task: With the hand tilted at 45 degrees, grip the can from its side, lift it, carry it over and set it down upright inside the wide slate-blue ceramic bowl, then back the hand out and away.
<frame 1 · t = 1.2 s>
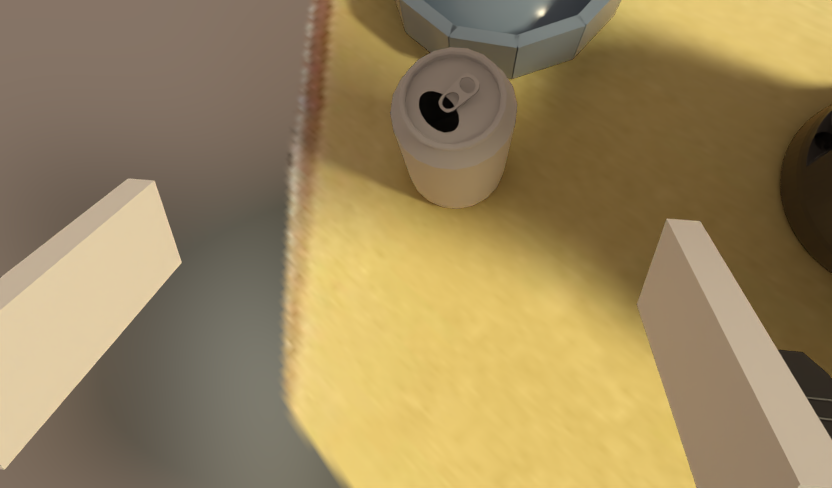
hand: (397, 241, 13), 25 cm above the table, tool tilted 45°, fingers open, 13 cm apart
can: (456, 166, 40), on the table
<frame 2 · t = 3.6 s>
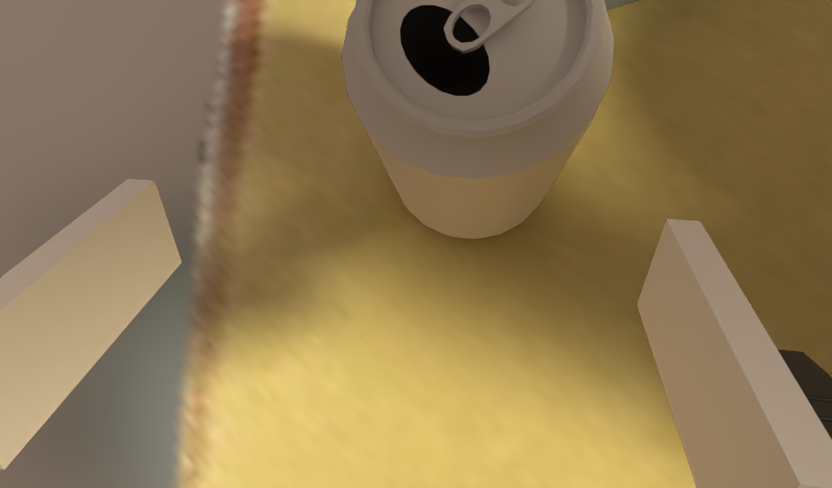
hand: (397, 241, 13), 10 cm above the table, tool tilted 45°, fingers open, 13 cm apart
can: (471, 166, 24), on the table
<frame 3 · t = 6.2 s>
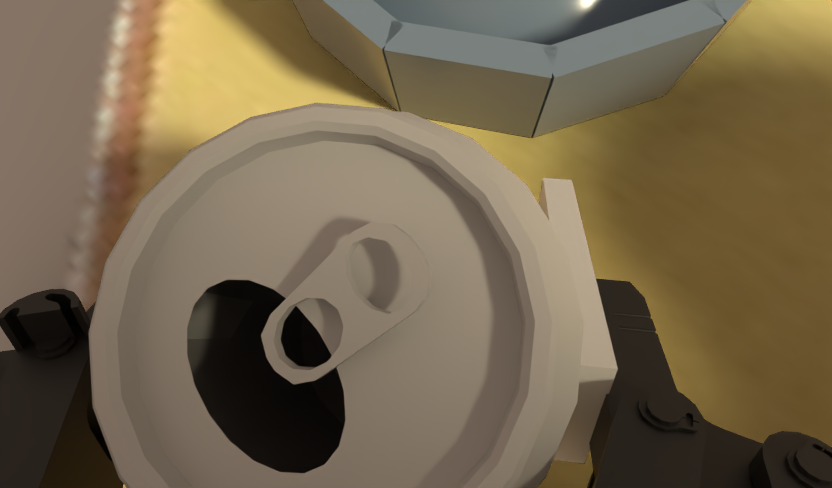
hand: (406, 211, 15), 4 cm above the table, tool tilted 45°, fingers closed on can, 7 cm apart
can: (410, 331, 18), on the table, touching gripper
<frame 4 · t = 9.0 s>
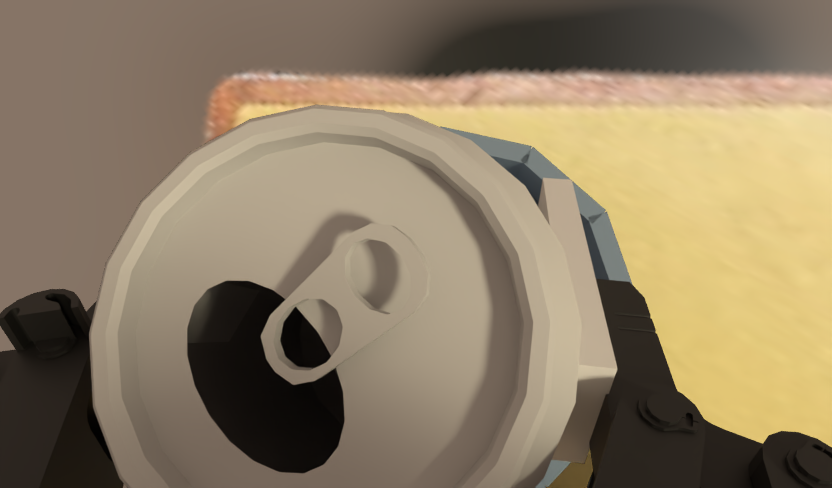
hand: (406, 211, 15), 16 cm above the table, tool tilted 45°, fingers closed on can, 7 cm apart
can: (409, 332, 18), point 12 cm above the table, touching gripper
bowl: (444, 311, 30), on the table
when the fingers open (6 cm above the table, at t = 12.0 s): can stays where it is, resting on bowl.
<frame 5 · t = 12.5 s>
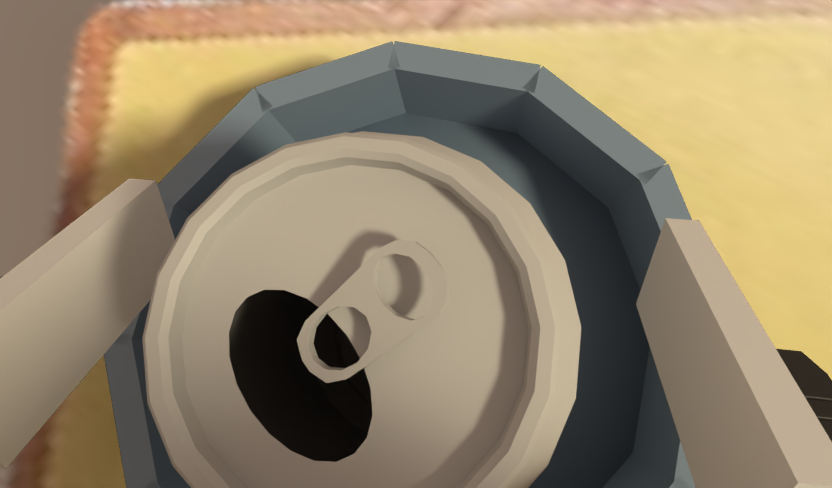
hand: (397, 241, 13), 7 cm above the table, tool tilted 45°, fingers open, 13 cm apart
can: (413, 333, 19), point 1 cm above the table, touching bowl
bowl: (414, 331, 20), on the table
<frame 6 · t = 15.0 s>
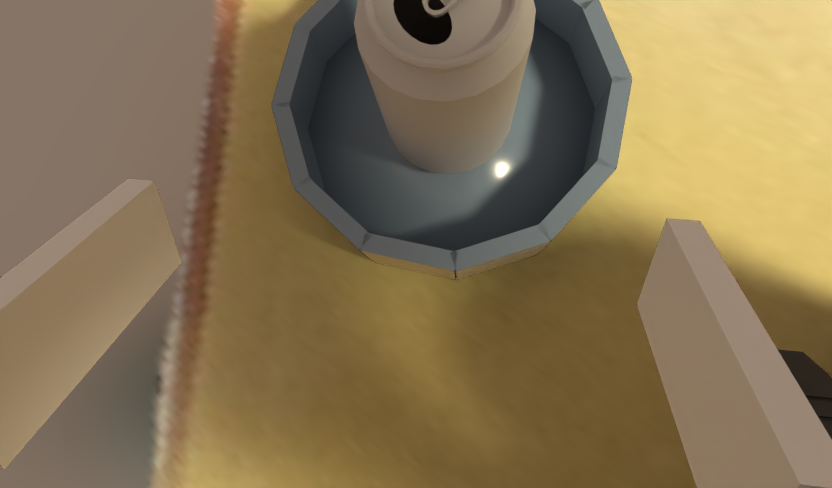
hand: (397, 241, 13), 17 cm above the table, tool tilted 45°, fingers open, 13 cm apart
can: (449, 121, 31), point 1 cm above the table, touching bowl
bowl: (448, 125, 32), on the table
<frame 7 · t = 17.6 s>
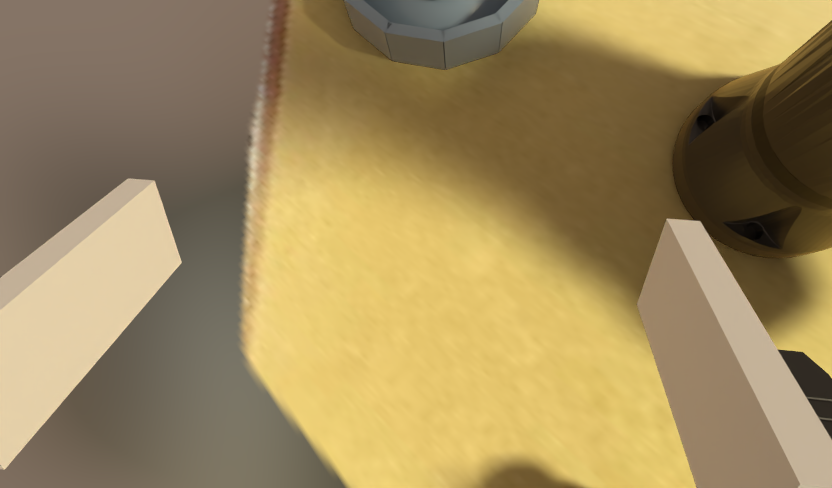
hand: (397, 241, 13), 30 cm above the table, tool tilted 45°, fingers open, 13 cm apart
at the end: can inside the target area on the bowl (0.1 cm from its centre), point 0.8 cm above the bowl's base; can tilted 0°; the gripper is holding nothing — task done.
